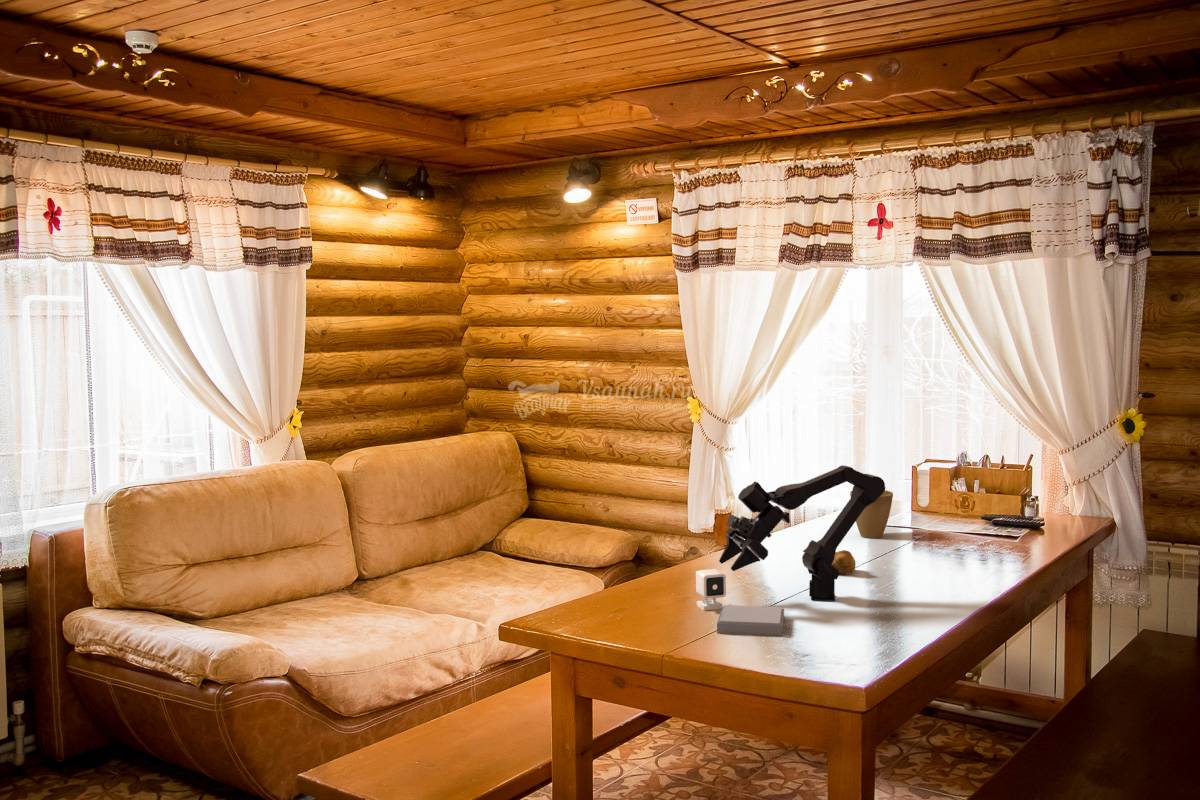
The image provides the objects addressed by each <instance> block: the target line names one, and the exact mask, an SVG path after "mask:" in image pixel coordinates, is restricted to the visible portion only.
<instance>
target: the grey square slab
mask: <svg viewBox="0 0 1200 800" xmlns="http://www.w3.org/2000/svg"><path fill="white" fill-rule="evenodd" d="M720 610H721V611H720V613H719V615H718V619H717V621H716V633H717V634H727V633H729V634H730V635H731V634H732V635H734V634H735V635H752V636H753V635H756V636H778V637H780V636H781V637H782V636H783V630H784V622H785V621H784V620H785V608H784V607H782V606H770V605H769V606H764V605H737V604H724V605H722V609H720Z"/></svg>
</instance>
